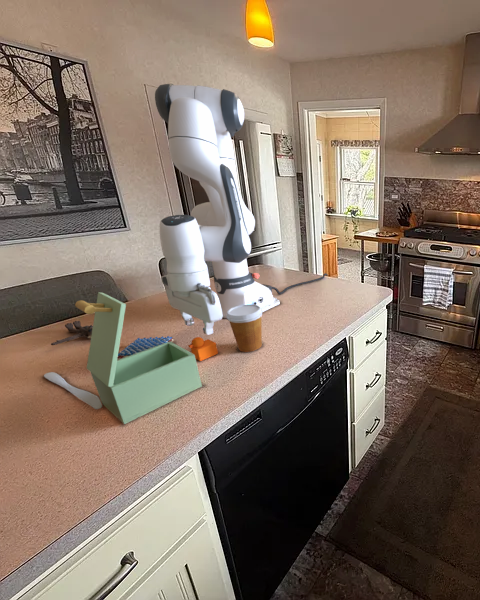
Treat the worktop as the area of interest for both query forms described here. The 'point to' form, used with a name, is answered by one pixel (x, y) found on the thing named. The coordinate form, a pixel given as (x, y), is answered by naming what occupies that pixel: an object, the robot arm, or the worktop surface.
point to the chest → (149, 381)
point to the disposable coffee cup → (246, 326)
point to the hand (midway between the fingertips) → (199, 329)
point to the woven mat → (143, 345)
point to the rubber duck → (203, 348)
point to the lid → (104, 336)
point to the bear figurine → (81, 330)
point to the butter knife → (75, 390)
